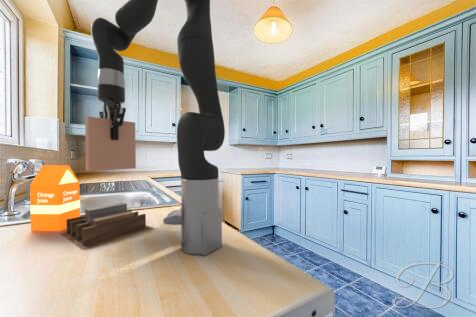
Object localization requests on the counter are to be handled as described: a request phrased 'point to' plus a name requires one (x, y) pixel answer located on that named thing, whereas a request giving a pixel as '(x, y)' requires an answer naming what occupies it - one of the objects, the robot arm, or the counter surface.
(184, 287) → the counter surface
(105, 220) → the offcut front
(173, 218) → the stone block
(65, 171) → the orange juice
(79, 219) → the rack
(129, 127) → the tall sheet
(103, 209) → the bar
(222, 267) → the counter surface
